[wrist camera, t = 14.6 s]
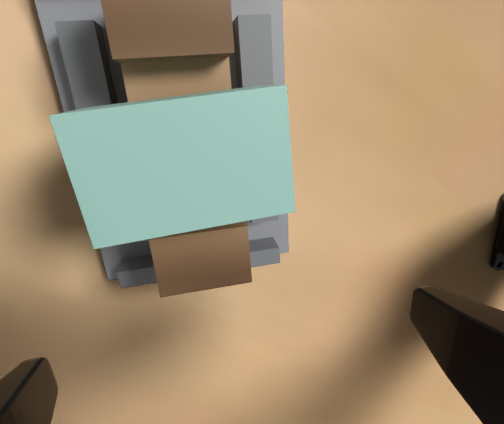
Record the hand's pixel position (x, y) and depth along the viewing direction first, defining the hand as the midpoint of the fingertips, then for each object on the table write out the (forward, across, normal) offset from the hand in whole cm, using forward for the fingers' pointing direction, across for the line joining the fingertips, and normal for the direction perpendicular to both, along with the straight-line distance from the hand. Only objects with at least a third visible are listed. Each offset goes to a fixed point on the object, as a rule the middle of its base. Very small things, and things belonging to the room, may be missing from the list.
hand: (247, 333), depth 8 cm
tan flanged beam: (+12, +1, -3) cm, 12 cm away
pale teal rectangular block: (+8, +1, -3) cm, 8 cm away
